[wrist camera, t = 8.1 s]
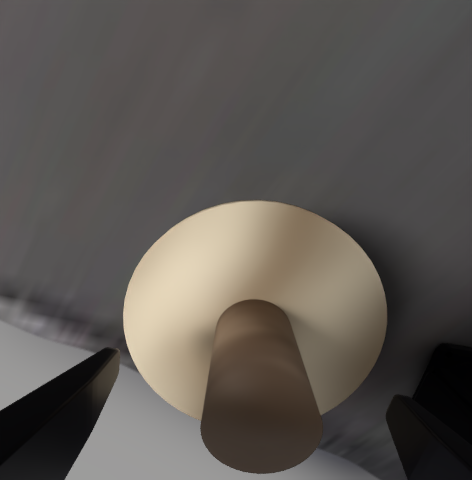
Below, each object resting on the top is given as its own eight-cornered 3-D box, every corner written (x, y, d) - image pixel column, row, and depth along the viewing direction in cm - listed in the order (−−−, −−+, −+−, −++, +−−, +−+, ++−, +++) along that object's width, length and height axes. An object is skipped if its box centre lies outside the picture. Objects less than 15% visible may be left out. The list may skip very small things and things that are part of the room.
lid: (412, 223, 10) (571, 270, 5) (338, 428, 13) (395, 576, 8) (137, 178, 9) (35, 185, 5) (127, 398, 12) (59, 534, 8)
